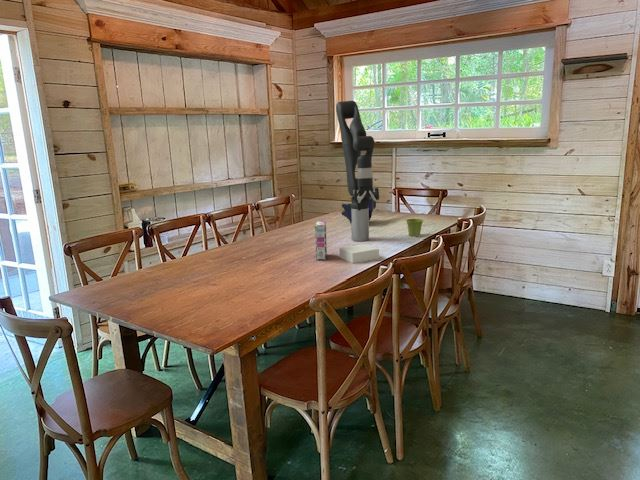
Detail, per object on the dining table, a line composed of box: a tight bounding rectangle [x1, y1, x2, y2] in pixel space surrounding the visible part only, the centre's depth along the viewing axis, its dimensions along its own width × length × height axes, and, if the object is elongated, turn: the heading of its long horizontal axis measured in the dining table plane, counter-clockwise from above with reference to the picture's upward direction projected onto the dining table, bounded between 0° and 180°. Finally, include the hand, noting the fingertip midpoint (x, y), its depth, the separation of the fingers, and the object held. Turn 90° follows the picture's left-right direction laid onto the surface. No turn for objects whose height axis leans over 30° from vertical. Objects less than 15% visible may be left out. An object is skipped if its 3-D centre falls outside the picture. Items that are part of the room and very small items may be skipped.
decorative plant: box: [341, 192, 374, 224], centre depth 303 cm, size 21×26×30 cm
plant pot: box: [405, 218, 424, 237], centre depth 261 cm, size 9×9×9 cm
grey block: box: [339, 243, 380, 264], centre depth 219 cm, size 12×14×5 cm
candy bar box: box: [314, 220, 328, 261], centre depth 221 cm, size 11×5×16 cm, turn 178°
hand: (366, 209), depth 237 cm, fingers open, 8 cm apart
